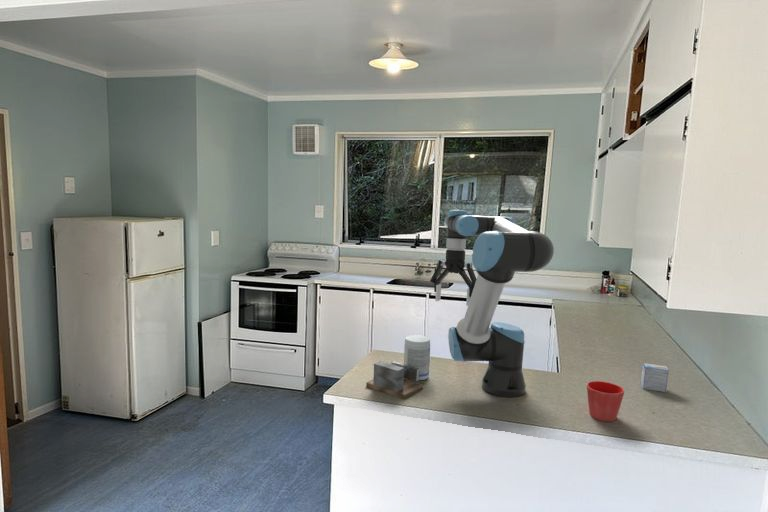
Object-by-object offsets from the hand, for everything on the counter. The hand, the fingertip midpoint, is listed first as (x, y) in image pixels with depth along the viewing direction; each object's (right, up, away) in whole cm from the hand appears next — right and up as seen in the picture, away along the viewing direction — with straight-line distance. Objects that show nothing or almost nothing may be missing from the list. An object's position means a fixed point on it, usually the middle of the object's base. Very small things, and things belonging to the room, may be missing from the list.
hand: (452, 302), depth 190 cm
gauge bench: (-24, -28, -22) cm, 43 cm away
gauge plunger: (-21, -25, -19) cm, 38 cm away
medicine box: (+72, -31, -13) cm, 80 cm away
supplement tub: (-15, -27, -10) cm, 33 cm away
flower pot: (+42, -33, -38) cm, 65 cm away
